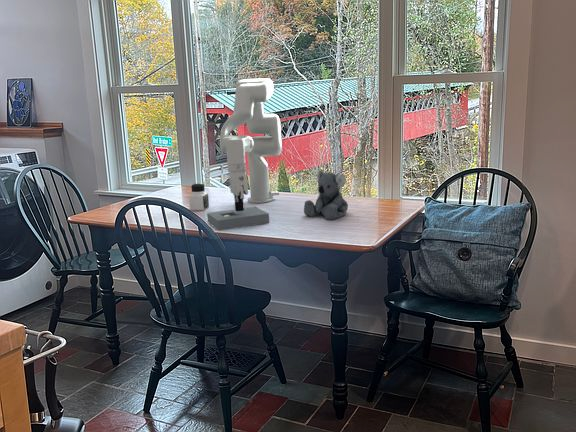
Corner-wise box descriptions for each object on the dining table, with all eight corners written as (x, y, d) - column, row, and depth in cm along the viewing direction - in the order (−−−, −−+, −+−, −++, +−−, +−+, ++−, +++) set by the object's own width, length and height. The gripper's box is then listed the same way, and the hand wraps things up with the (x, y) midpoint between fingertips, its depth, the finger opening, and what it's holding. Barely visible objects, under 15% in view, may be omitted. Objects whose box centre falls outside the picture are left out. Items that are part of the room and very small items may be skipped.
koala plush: (301, 216, 249) (299, 171, 245) (327, 208, 262) (325, 165, 257) (332, 221, 238) (331, 175, 233) (357, 213, 250) (357, 168, 246)
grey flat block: (255, 215, 254) (255, 206, 253) (269, 222, 240) (268, 213, 239) (207, 222, 246) (207, 212, 245) (218, 230, 232) (218, 220, 231)
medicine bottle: (204, 210, 268) (202, 185, 265) (189, 210, 270) (187, 185, 267) (209, 207, 275) (207, 182, 272) (195, 207, 277) (193, 182, 274)
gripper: (251, 169, 233) (254, 212, 237) (239, 164, 246) (242, 206, 250) (234, 170, 230) (237, 215, 234) (222, 166, 243) (225, 208, 247)
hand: (239, 210), depth 242 cm, fingers closed
